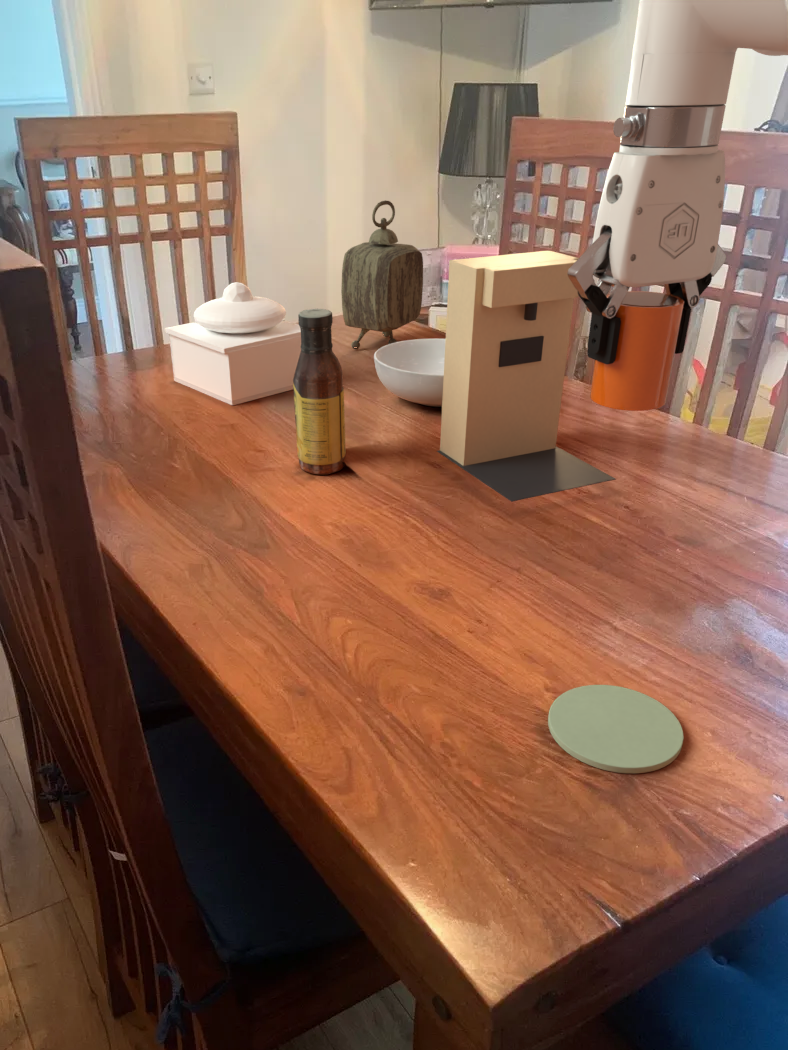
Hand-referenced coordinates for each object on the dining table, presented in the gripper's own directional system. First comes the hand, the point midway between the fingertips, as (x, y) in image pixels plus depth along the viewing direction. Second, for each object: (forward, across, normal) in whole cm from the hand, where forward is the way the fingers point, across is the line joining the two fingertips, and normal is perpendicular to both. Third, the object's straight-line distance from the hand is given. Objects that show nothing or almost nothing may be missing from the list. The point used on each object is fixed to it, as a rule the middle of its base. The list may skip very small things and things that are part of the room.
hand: (635, 353), depth 78 cm
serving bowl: (+22, +11, +54) cm, 60 cm away
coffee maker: (+22, +5, +23) cm, 32 cm away
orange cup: (+4, 0, 0) cm, 4 cm away
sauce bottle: (+22, -17, +36) cm, 45 cm away
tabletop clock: (+22, +16, +86) cm, 91 cm away
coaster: (+22, -16, -22) cm, 35 cm away
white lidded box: (+22, -15, +76) cm, 80 cm away
